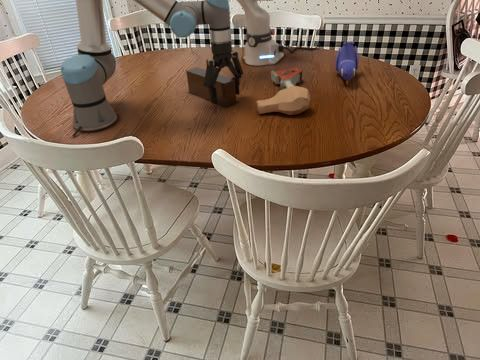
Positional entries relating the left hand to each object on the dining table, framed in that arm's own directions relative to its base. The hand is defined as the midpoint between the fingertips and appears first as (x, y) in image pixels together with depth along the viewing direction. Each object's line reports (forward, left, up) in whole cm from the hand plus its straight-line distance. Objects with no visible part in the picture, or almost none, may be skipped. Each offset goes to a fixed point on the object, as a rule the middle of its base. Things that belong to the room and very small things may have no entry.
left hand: (225, 98), depth 141 cm
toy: (+19, -52, -2) cm, 55 cm away
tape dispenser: (+13, -26, -2) cm, 29 cm away
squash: (-11, -22, -2) cm, 24 cm away
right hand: (+26, +2, +31) cm, 40 cm away
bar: (+6, +6, -2) cm, 9 cm away
